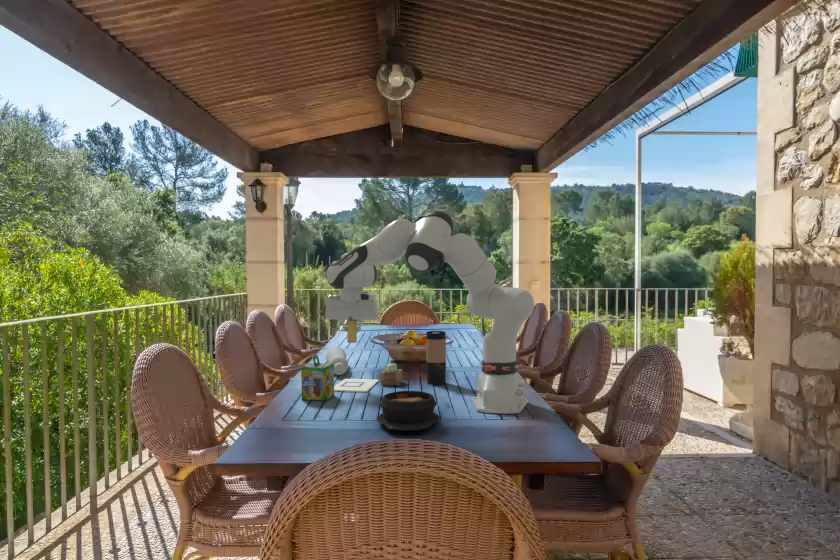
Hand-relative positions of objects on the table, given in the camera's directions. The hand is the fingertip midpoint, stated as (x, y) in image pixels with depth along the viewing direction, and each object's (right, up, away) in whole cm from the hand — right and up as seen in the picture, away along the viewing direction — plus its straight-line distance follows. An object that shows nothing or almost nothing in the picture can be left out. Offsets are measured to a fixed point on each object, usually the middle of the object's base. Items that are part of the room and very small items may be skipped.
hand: (352, 331), depth 227 cm
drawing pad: (+1, -21, +1) cm, 21 cm away
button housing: (+15, -21, +5) cm, 26 cm away
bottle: (-10, -20, +31) cm, 38 cm away
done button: (+15, -19, +5) cm, 25 cm away
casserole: (+22, -23, -51) cm, 60 cm away
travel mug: (+32, -21, +5) cm, 39 cm away
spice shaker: (0, -4, 0) cm, 4 cm away
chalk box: (-10, -22, -18) cm, 30 cm away
